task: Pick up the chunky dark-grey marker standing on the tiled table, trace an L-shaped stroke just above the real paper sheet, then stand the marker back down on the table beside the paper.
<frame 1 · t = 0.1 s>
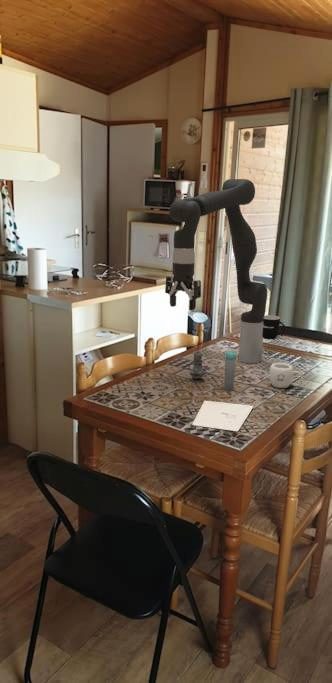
hand: (182, 308, 187), 29 cm above the table, fingers open, 8 cm apart
mug: (272, 338, 263), on the table
mug 2: (285, 387, 197), on the table
paper sheet: (204, 414, 173), on the table
marker: (228, 389, 194), on the table
weathered grey finial: (196, 380, 202), on the table
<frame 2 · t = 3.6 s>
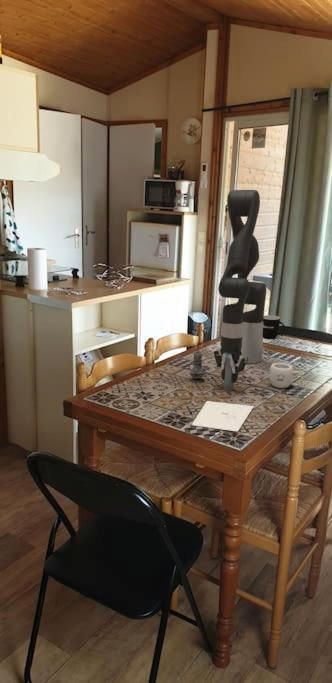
hand: (229, 380, 193), 3 cm above the table, fingers closed on marker, 3 cm apart
marker: (228, 389, 194), on the table, touching gripper
everything else where it was.
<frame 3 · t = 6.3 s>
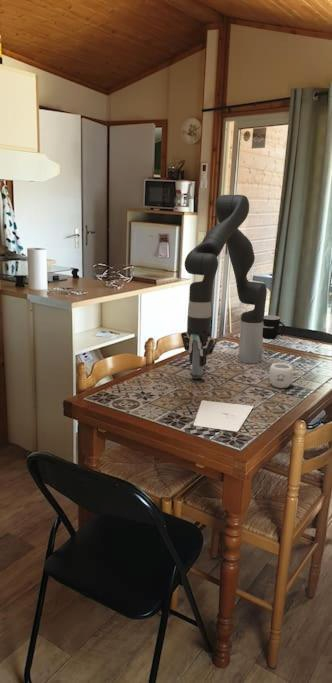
hand: (197, 364, 180), 12 cm above the table, fingers closed on marker, 3 cm apart
marker: (197, 373, 181), point 9 cm above the table, touching gripper
everything else where it was.
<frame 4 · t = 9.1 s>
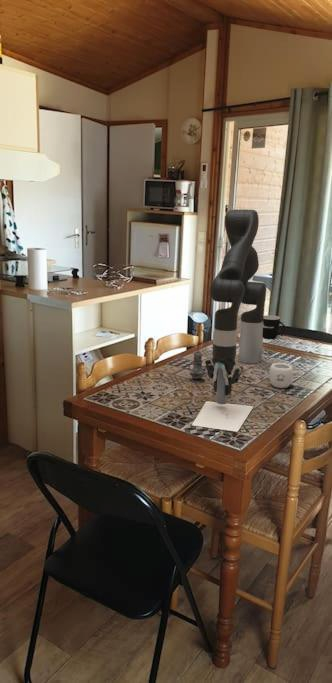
hand: (222, 393, 175), 5 cm above the table, fingers closed on marker, 3 cm apart
marker: (221, 402, 176), point 2 cm above the table, touching gripper
everything else where it was.
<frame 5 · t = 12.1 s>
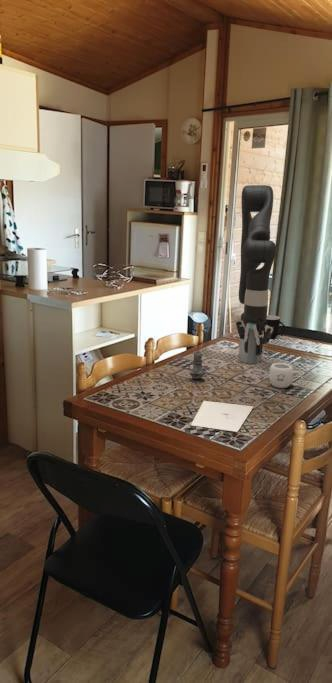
hand: (252, 353, 179), 17 cm above the table, fingers closed on marker, 3 cm apart
marker: (252, 362, 179), point 14 cm above the table, touching gripper
everything else where it was.
when the fingers open (4 cm above the table, at t = 14.9 s): marker stays where it is, on the table.
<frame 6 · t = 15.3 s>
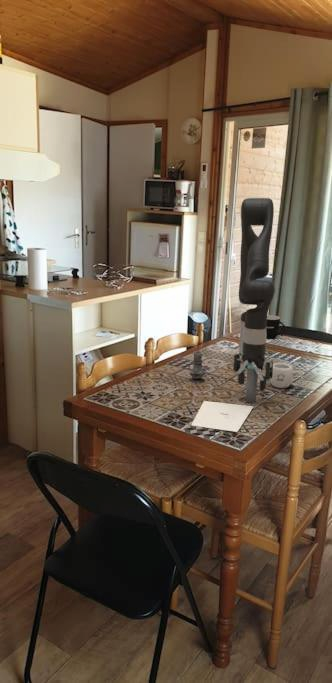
hand: (251, 387, 182), 5 cm above the table, fingers open, 8 cm apart
marker: (250, 401, 183), on the table
everything else where it was.
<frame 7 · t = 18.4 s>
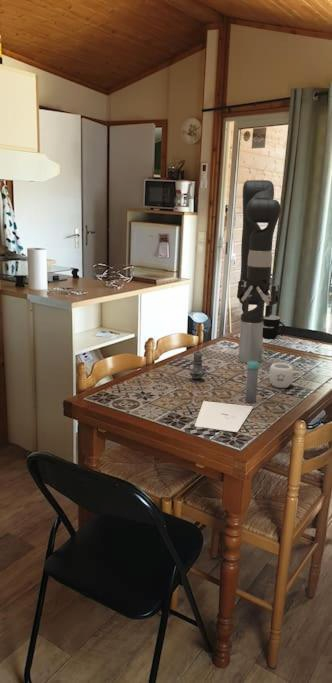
hand: (256, 314, 175), 30 cm above the table, fingers open, 8 cm apart
nothing on the table moved.
at the end: marker inside the target area (0.1 cm from its centre), on the table; marker tilted 0°; the gripper is holding nothing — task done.
